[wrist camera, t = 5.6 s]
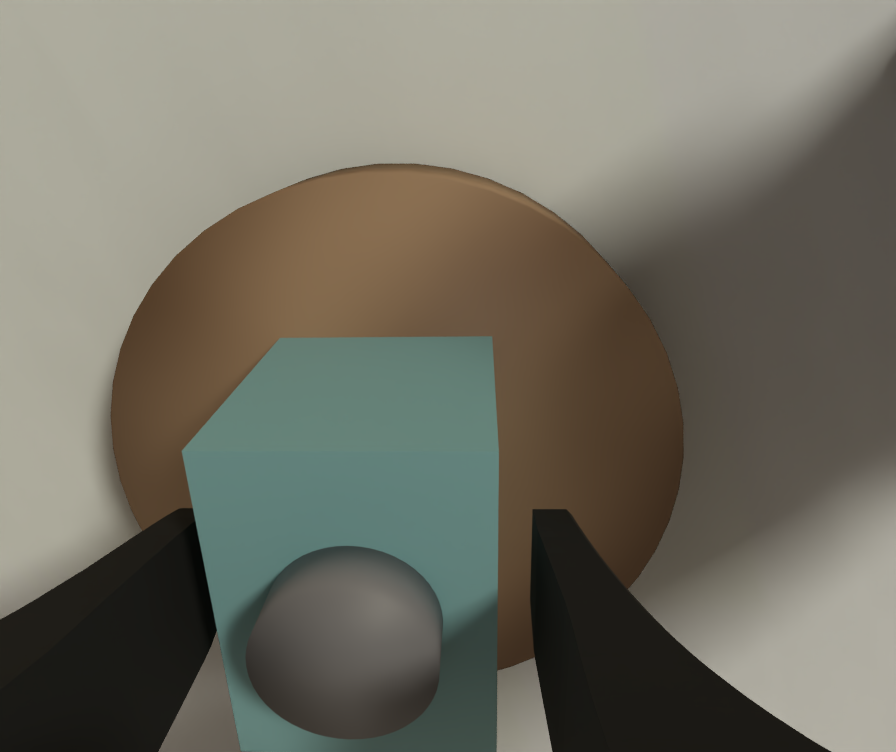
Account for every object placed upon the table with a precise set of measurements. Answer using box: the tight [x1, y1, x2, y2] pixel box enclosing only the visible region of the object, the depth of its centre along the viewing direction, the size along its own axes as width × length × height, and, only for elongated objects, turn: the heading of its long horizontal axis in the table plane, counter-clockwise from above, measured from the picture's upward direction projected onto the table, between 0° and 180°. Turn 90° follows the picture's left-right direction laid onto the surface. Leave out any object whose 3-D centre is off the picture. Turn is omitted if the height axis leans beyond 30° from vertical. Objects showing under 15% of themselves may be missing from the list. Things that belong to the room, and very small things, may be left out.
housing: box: [182, 336, 499, 752], centre depth 12 cm, size 4×6×6 cm
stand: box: [111, 164, 683, 670], centre depth 16 cm, size 13×13×2 cm
